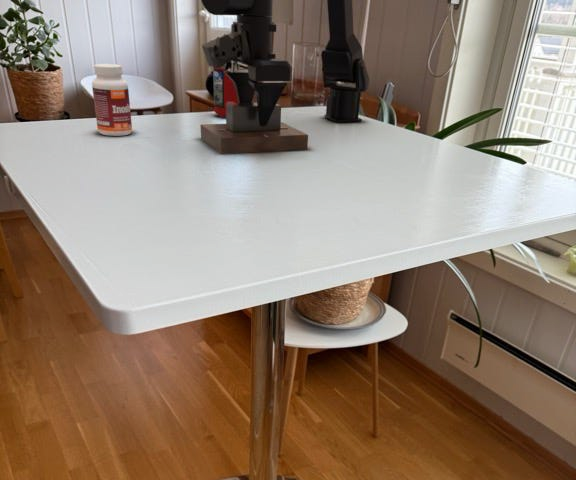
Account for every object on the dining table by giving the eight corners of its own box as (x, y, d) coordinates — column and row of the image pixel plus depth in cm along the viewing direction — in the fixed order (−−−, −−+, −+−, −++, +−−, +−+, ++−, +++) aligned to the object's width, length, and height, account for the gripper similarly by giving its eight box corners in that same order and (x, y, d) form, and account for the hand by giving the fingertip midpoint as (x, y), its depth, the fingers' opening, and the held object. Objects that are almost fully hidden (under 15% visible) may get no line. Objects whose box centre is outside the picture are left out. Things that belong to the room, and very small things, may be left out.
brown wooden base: (279, 135, 109) (280, 120, 108) (308, 150, 99) (309, 134, 98) (200, 138, 104) (199, 122, 102) (222, 154, 94) (221, 137, 92)
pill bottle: (118, 138, 101) (110, 68, 95) (90, 133, 103) (81, 64, 96) (139, 132, 106) (133, 65, 99) (112, 128, 107) (104, 62, 101)
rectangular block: (273, 126, 103) (273, 100, 101) (280, 130, 100) (281, 104, 98) (226, 127, 100) (225, 101, 97) (232, 132, 97) (232, 104, 95)
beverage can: (215, 112, 127) (213, 51, 120) (245, 114, 127) (245, 52, 120) (213, 118, 121) (211, 53, 114) (244, 119, 122) (244, 55, 115)
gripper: (190, 11, 95) (194, 113, 103) (225, 16, 81) (226, 133, 90) (252, 14, 99) (251, 111, 107) (295, 19, 85) (290, 131, 93)
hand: (253, 121), depth 99 cm, fingers open, 9 cm apart
